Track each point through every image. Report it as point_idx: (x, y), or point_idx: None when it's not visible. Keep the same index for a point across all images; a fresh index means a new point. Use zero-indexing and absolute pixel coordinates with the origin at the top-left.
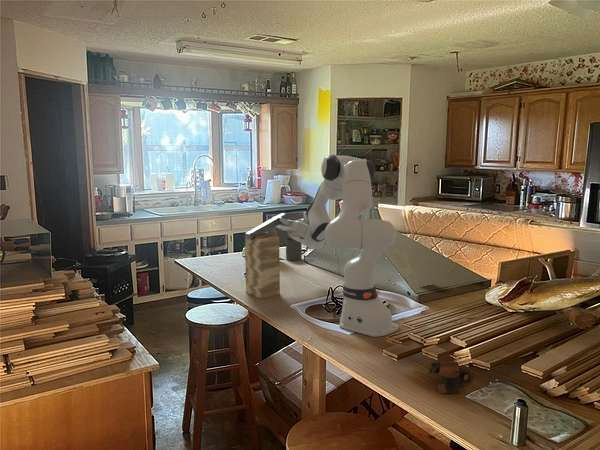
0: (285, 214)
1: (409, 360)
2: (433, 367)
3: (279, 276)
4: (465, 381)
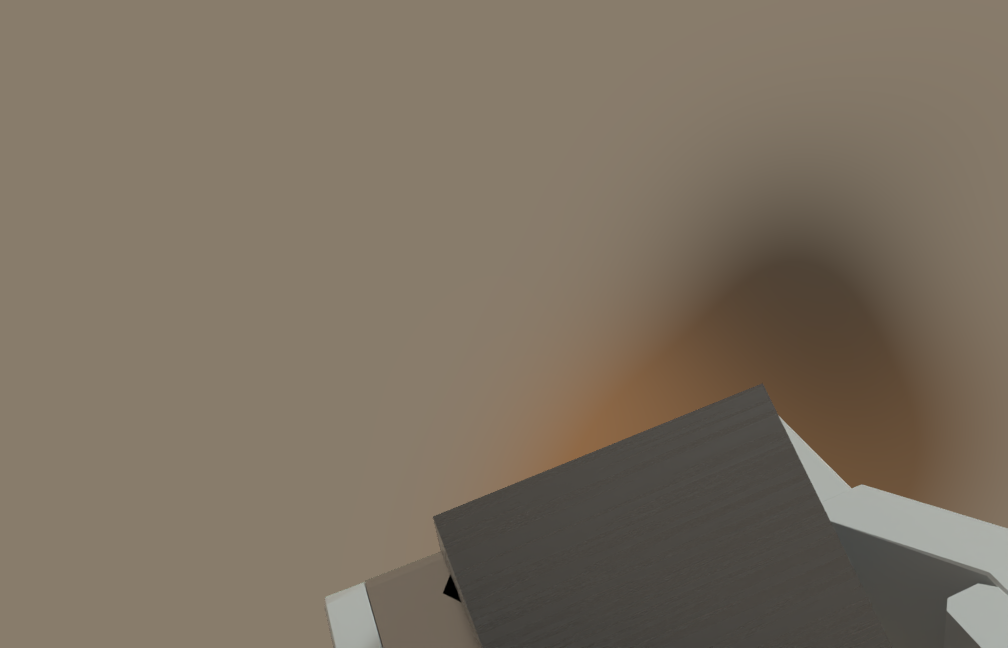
0: (451, 555)
1: None
2: None
3: None
4: None
